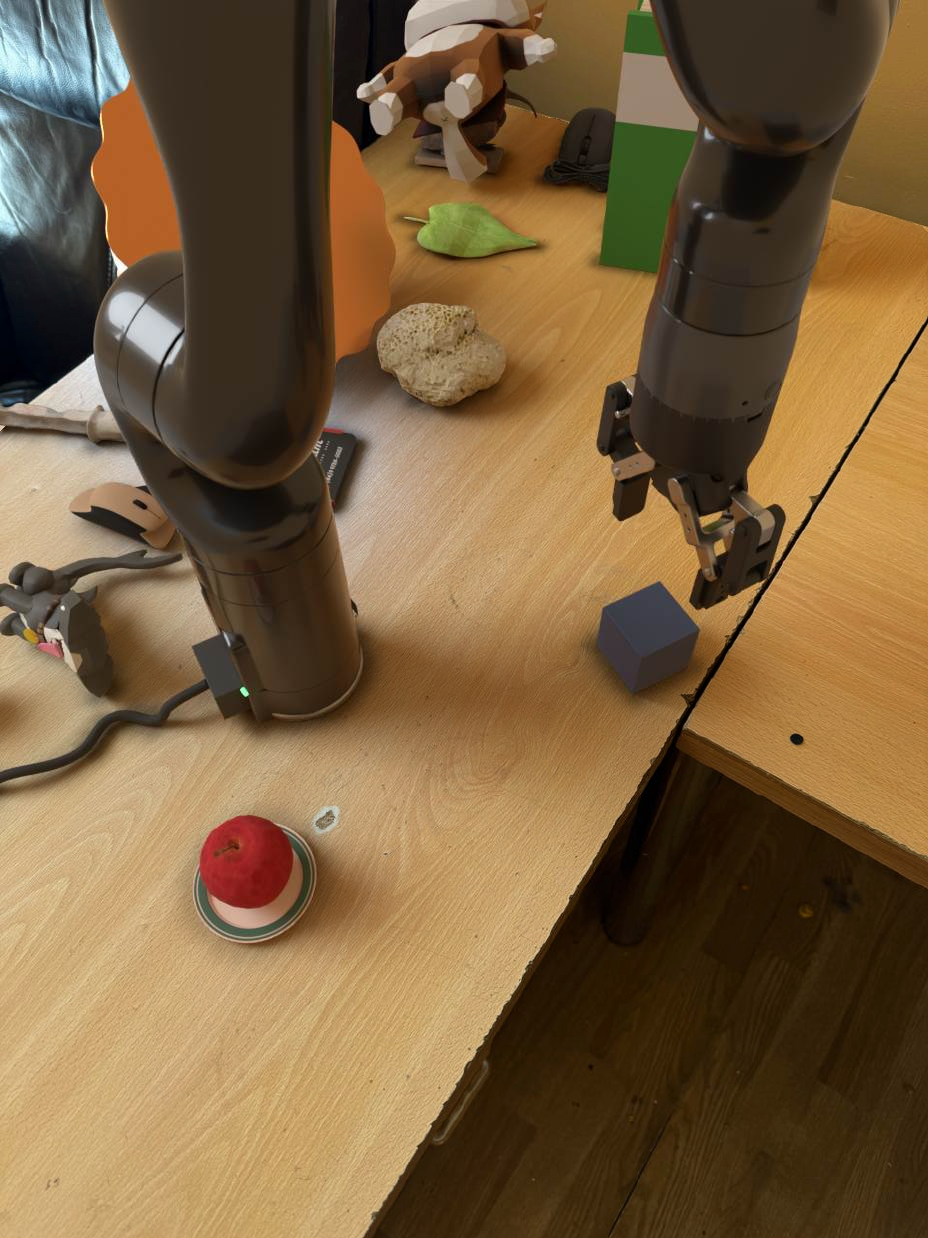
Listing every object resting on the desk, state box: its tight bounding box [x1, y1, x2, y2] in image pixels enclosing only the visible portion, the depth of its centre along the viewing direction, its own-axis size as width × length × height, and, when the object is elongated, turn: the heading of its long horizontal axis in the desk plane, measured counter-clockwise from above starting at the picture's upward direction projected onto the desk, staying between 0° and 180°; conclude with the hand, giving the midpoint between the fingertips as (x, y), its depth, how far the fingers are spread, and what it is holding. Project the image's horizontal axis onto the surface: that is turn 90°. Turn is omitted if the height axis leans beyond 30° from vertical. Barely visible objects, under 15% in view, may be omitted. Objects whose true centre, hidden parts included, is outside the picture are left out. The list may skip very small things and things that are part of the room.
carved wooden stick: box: [0, 400, 126, 445], centre depth 84 cm, size 25×4×3 cm, turn 79°
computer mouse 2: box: [541, 107, 616, 193], centre depth 110 cm, size 10×15×4 cm
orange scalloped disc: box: [90, 76, 397, 364], centre depth 88 cm, size 28×28×18 cm
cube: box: [595, 580, 701, 695], centre depth 69 cm, size 5×5×5 cm
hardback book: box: [599, 0, 699, 274], centre depth 90 cm, size 18×7×24 cm, turn 74°
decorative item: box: [376, 302, 507, 407], centre depth 86 cm, size 12×9×10 cm
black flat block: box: [313, 427, 358, 509], centre depth 82 cm, size 10×1×5 cm
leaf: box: [403, 202, 539, 259], centre depth 101 cm, size 9×16×2 cm, turn 66°
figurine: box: [414, 87, 538, 174], centre depth 107 cm, size 14×4×9 cm, turn 76°
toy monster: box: [0, 548, 184, 699], centre depth 70 cm, size 14×18×10 cm
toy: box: [356, 0, 558, 184], centre depth 104 cm, size 24×18×30 cm
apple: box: [192, 814, 318, 944], centre depth 59 cm, size 8×8×6 cm
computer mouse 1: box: [68, 481, 176, 550], centre depth 78 cm, size 6×10×4 cm, turn 64°
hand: (665, 556), depth 62 cm, fingers open, 8 cm apart
